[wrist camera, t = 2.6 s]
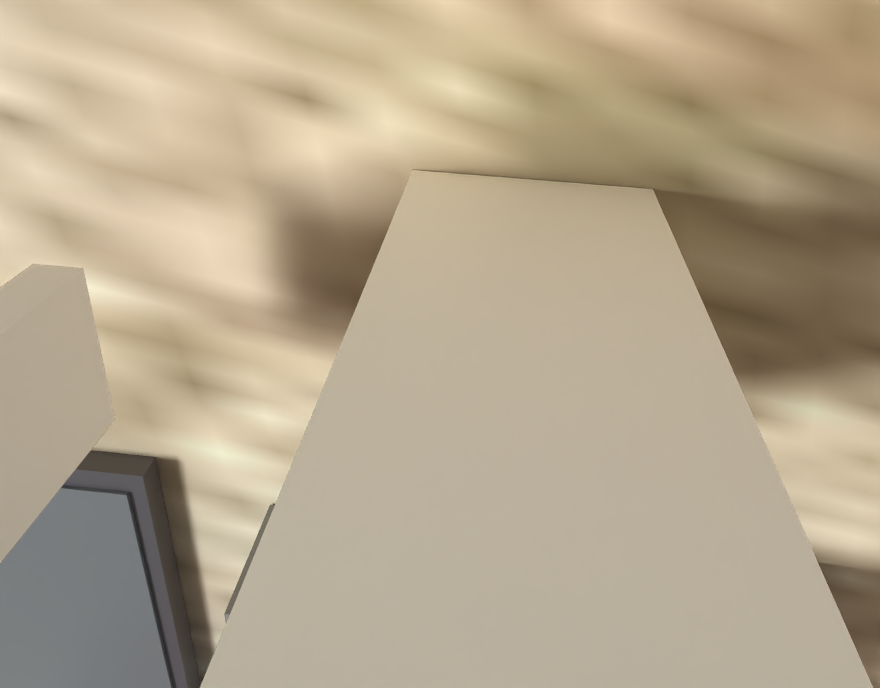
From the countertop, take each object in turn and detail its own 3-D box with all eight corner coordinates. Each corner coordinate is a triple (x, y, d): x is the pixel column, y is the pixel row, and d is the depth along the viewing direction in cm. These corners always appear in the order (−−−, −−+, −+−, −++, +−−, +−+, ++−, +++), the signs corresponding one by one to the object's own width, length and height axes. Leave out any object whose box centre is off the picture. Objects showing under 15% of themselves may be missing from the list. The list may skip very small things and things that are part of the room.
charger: (412, 169, 12) (164, 775, 4) (652, 189, 12) (958, 879, 4) (406, 368, 15) (236, 1050, 6) (611, 388, 14) (743, 1125, 6)
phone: (-125, 412, 17) (-170, 447, 16) (165, 441, 17) (140, 479, 16) (22, 753, 25) (-2, 793, 23) (228, 779, 24) (214, 822, 23)
